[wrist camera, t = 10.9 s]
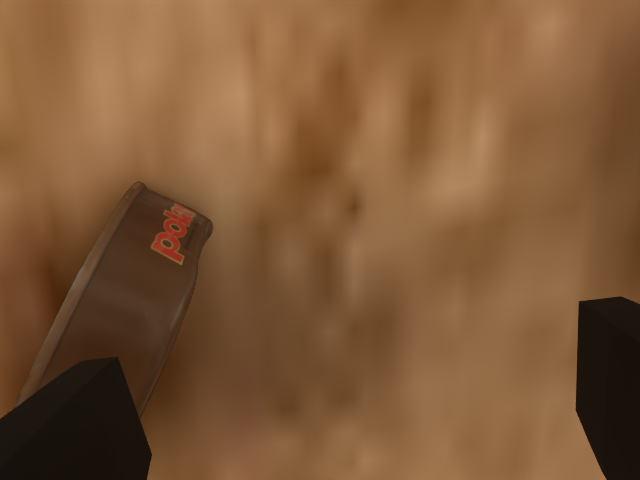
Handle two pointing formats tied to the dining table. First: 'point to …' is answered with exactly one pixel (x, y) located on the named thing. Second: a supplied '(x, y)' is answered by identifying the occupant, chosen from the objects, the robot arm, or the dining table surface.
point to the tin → (128, 294)
